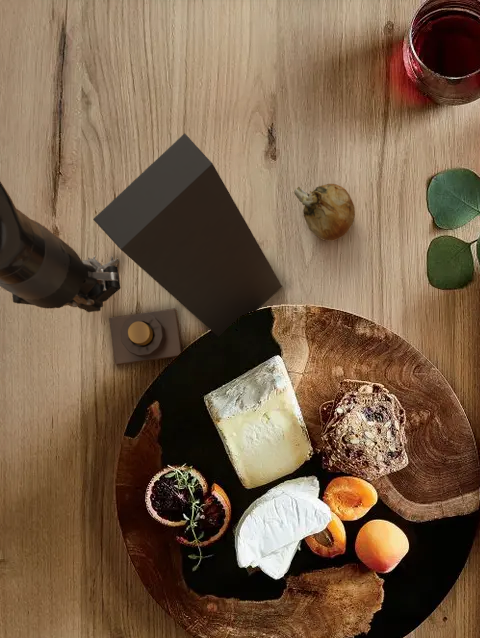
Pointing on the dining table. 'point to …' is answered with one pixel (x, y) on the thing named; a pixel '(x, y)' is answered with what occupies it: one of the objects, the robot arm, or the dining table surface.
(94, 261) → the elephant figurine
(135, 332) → the button
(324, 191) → the onion
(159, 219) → the dark brown rectangular box
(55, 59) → the dining table surface
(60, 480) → the dining table surface
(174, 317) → the control block
